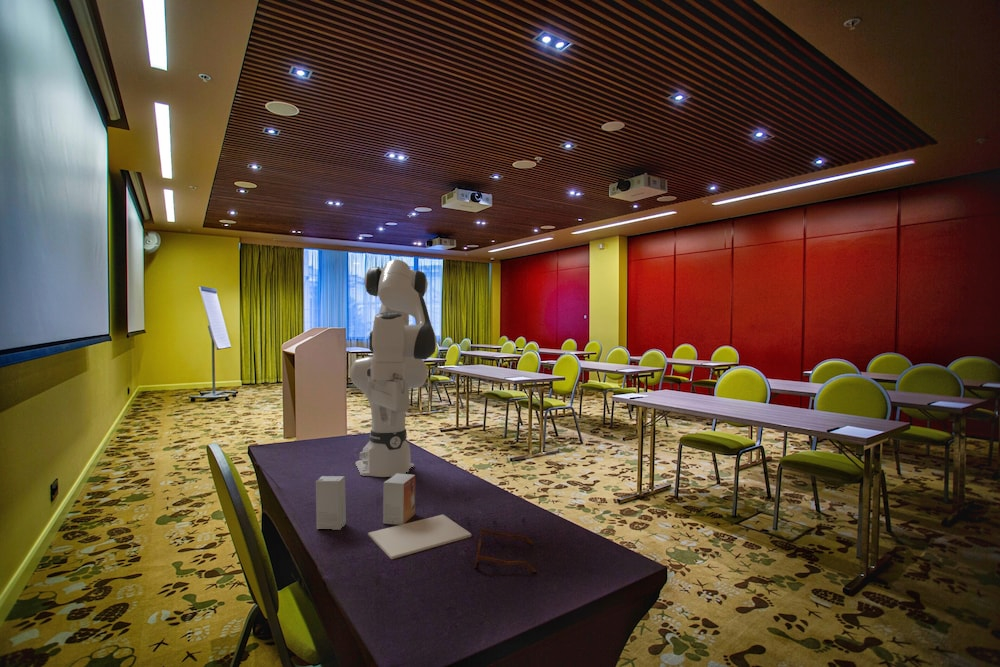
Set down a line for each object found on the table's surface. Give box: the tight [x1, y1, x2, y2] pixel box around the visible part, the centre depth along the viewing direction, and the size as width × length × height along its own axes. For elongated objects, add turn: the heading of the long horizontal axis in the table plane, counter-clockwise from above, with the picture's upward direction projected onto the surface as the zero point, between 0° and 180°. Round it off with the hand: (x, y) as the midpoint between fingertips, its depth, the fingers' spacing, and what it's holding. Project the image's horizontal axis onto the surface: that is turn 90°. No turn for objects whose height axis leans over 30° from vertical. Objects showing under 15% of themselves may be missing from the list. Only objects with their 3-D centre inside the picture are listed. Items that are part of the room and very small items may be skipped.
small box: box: [382, 473, 416, 526], centre depth 122 cm, size 8×6×10 cm
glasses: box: [474, 525, 537, 572], centre depth 103 cm, size 13×13×5 cm
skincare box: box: [315, 475, 347, 531], centre depth 116 cm, size 6×4×12 cm
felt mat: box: [367, 514, 472, 560], centre depth 112 cm, size 14×20×1 cm
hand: (387, 423), depth 129 cm, fingers open, 5 cm apart
